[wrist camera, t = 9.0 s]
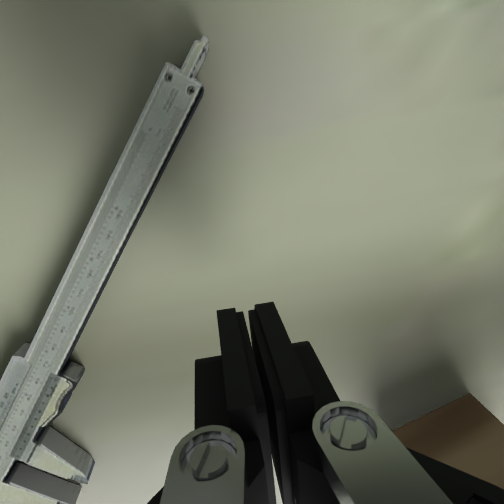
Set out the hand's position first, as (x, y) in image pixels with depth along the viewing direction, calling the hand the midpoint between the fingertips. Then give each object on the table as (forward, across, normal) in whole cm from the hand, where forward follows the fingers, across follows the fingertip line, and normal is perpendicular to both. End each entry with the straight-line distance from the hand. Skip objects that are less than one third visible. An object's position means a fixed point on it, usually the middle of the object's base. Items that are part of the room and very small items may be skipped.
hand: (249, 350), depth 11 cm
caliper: (+4, +2, +1) cm, 5 cm away
